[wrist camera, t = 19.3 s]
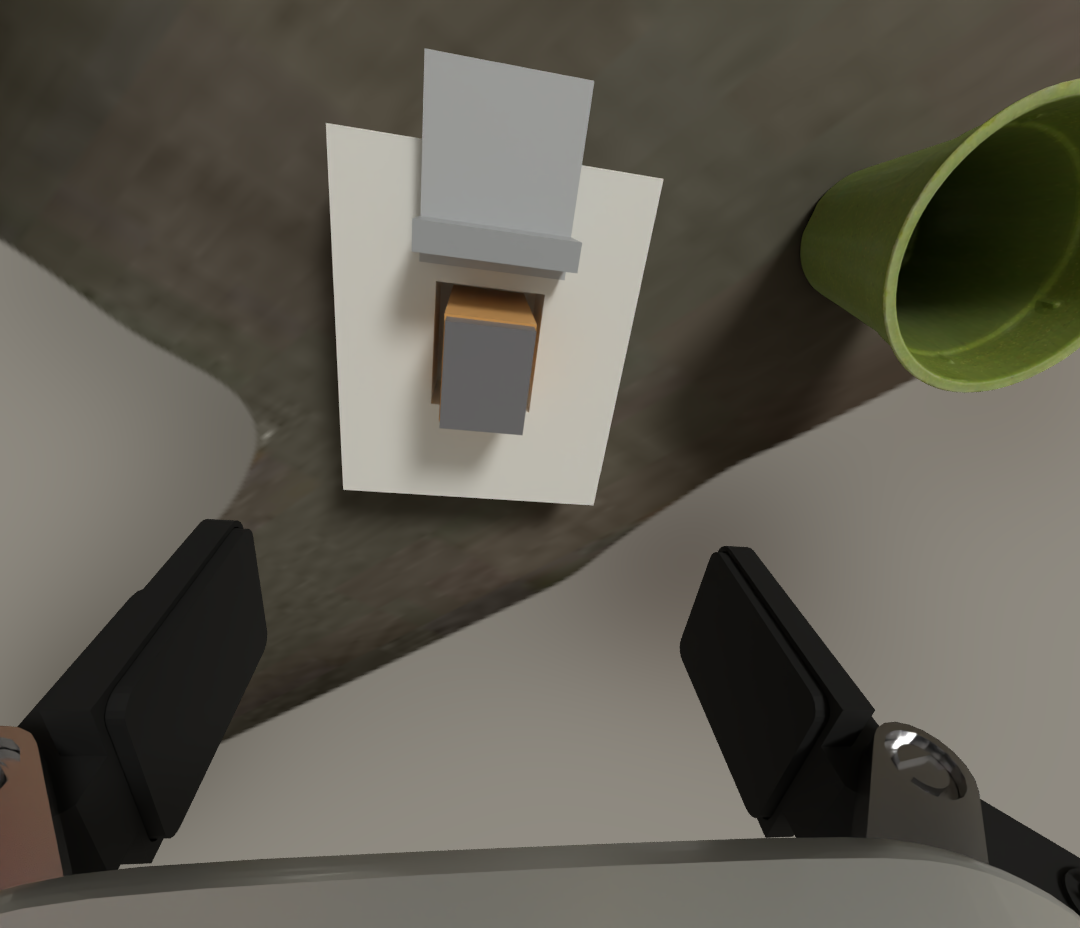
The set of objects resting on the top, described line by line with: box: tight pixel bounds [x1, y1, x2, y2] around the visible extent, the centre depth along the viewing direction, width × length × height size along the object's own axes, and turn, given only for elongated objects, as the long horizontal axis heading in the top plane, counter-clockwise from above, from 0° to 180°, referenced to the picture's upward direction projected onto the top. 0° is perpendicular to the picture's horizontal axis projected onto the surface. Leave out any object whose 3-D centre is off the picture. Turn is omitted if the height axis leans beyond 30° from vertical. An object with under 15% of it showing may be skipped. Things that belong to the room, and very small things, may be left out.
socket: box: [326, 123, 663, 505], centre depth 29 cm, size 15×18×5 cm
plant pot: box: [800, 79, 1080, 392], centre depth 26 cm, size 12×12×11 cm
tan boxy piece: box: [439, 285, 537, 435], centre depth 26 cm, size 4×5×9 cm
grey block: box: [412, 49, 594, 280], centre depth 21 cm, size 7×8×4 cm
